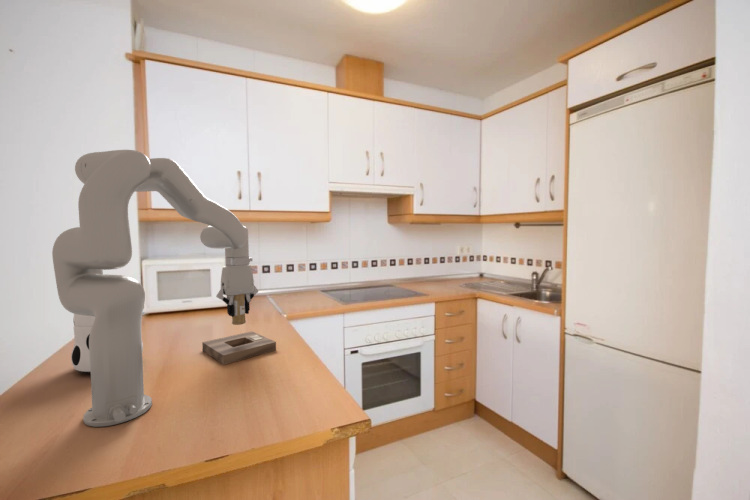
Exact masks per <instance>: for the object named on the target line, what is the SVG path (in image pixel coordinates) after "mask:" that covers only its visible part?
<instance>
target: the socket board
mask: <svg viewBox="0 0 750 500" xmlns="http://www.w3.org/2000/svg"><path fill="white" fill-rule="evenodd" d="M201 343H202V352H204V353H205V354H207V355H208V356H210V357H211V358H213V359H215V360H216V361H218V363H220V364H221V365H223V366H224V365H228V364H232V363H235V362H238V361H242V360H246V359H249V358H252V357H253V358H254V357H257V356H261V355H264V354H269V353H272V352H275V351H277V341H275V340H273V339H270V338H268V337H266V336H264V335H261V334H259V333H256V332H254V331H252V330H251V331H247V332H243V333H239V334H233V335H228V336H223V337H220V338H216V339H211V340H210V339H209V340H206V341H202V342H201Z"/></svg>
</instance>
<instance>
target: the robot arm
mask: <svg viewBox="0 0 750 500" xmlns="http://www.w3.org/2000/svg"><path fill="white" fill-rule="evenodd" d="M74 170H75V171H74V172H75V174H76V177H77V179H78V180H79V181H80V182H81V183H82V184H83V187H82V188H81V190H80V192H79V197H78V203H77V204H78V209H77V210H78V221H79V222H78V223H79V226H77V227H73V228H68V229H66V230H64V231H62V232H61V233H60V234H59V235H58V236H57V237H56V239H55V240H54V243H53V247H52V253H51V254H52V264H53V271H54V278H55V284H56V289H57V296H58V299H59V302H60V303H61V305H62V307H63V308H64V309H65V310H66V311H68V312H69V313H71V314H73V315H74V314H78V315H85V316H95V321H94V324H93V326H92V329H91V332H90V336H89V351H90V371H91V373H90V387H91V406H92V407H91V408H89V409H88V410H87V411H85V412H84V414H83V420H82V421H83V424H85V425H86V426H88V427H94V428H95V427H97V428H98V427H99V428H100V427H102V428H103V427H110V426H114V425H115V426H116V425H118V424H123V423H125V422H128V421H131V420H134V419H136V418H138V417H139V416H141V415H143V414H145V413H147V411H148V410H149V409H150V408H151V407H152V405H153V400H152V397H151V396H150V395H148V394H145V388H144V385H145V384H144V368H143V367H144V366H143V365H144V364H143V363H144V362H143V351H142V342H143V340H142V339H143V338H142V318H143V311H144V308H145V301H146V291H145V289H144V287H143V285H142V284H141V283H140V282H139V280H137V279H135V278H133V277H130V276H127V275H121V274H104V270H105V271H106V270H117V269H121V268H124V267H126V266H127V265H128V264H129V263H130V261H131V259H132V255H133V246H132V237H131V229H130V221H129V203H130V199H132V198H131V197H132V196H133V194H134V193H135V192H139V193H140V192H142V193H144V192H146V193H147V192H157V193H158V194H160V196H161V197H162V198H163V199H165V201H167V203H168V204H169V205H170V206H171V207H172V208H173V209H174V210H175V211H176V212H177V213H178V214H179V215H180V216H181V217H184V218H185V219H188V220H191V221H194V222H198V223H202V224H205V225H208V226H206V227H204V228H203V229H202V231H201V232H200V234H199V235H200V237H199V238H200V242H201V243H202V244H203V245H204V246H205V247H207V248H209V249H222V250H223V249H224V259H225V262H224V263H225V265H224V266H222V269H221V276H220V289H219V291H218V292H217V294H216V298H218V299H219V300H221V301H222V302H224V303H225V304H226V308H227V309H226V310H227V311H226V312H227V315H228V316H230V317H233V316H234V305H233V298H234V296H236V295H239V294H245V315H246V314H247V315H249V313H250V311H251V310H250V302H251V301H252V299H253V298H254V297H255V296H256V295H257V294H258V293H259V290H258V288H257V286H256V285H255V281H254V274H253V273H254V272H253V269H252V266H251V264H250V262H253V257H250V250H249V248H250V247H249V246H250V245H249V230H248V227H247V226H244V225H243V223H242V222H241V221H240V219H239V218H238V217H237V216H236V215H235V214H234V213H233V212H232V211H230V209H227V208H226V207H224V206H223V205H220V204H219V203H218V202H216V201H214V200H212V199H210V198H208V197H206V196H205V195H204V193H203V192H202V191H201V189H200V188H199V187H198V186H197V185H196V184H195V183H194V181H193V180H192V179H191V178H190V176H189V175H188V174H187V173H186V172H185V170H184V169H183V168H182V167H181V166H180V164H178V163H177V162H176V161H174V159H171V158H166V157H157V158H156V157H155V158H148V156H147V155H146V154H144V153H143V152H141V151H138V150H134V149H133V150H132V149H116V150H115V149H114V150H106V151H98V152H97V151H95V152H89V153H86V154H83V155H81V156H80V157H79V158H78V159H77V160H76V162H75V166H74ZM240 290H242V291H240ZM225 296H226V297H225Z"/></svg>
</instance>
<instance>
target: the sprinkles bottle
mask: <svg viewBox="0 0 750 500" xmlns="http://www.w3.org/2000/svg"><path fill="white" fill-rule="evenodd" d="M240 291H242V290H240ZM233 305H234V316H233V317H232V316H231V317H232V318H231V319H232V320H231V321H232V322H231V324H232V325H233V326H240V325H244V324H246V323H247V321H246V313H245V294H239V295H236V296H234V298H233Z"/></svg>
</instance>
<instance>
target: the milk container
mask: <svg viewBox="0 0 750 500" xmlns="http://www.w3.org/2000/svg"><path fill="white" fill-rule="evenodd" d="M94 321H95V316H85V315H78V314H74V313H73V335H74V343H73V346H72V349H71V355H70V360H71V364H72V367H73V369H74V370H75V372H78V373H82V374H91V371H90V351H89V336H90V332H91V329H92V326H93V324H94ZM143 351H144V343H143V341H142V352H143Z"/></svg>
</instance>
